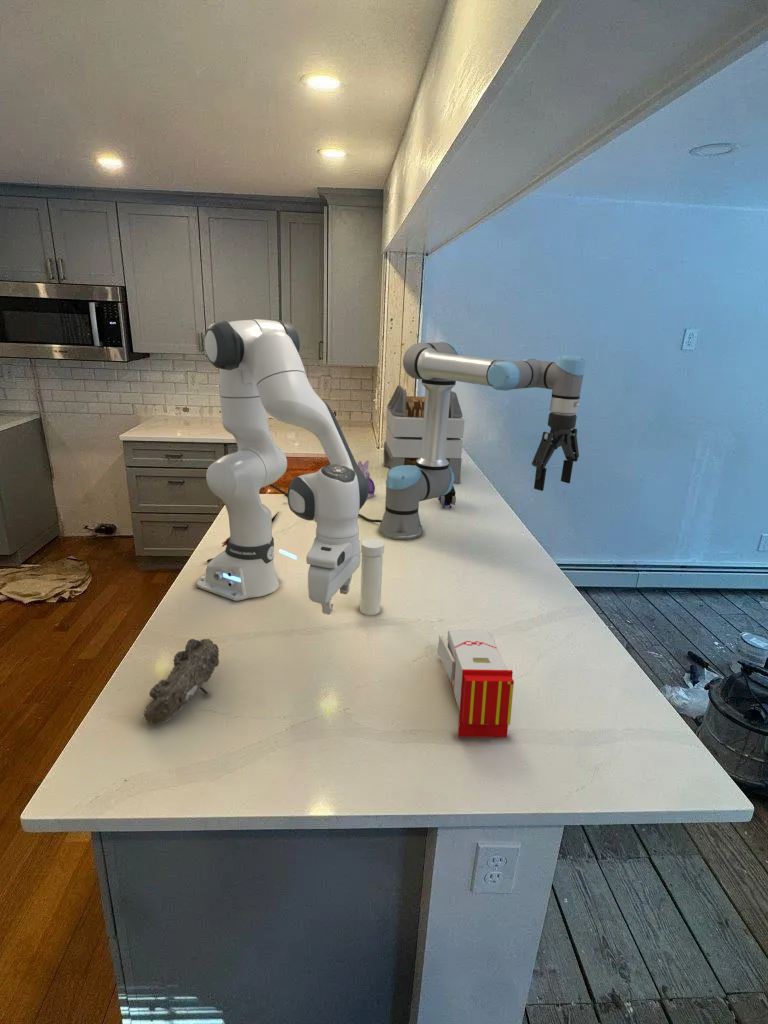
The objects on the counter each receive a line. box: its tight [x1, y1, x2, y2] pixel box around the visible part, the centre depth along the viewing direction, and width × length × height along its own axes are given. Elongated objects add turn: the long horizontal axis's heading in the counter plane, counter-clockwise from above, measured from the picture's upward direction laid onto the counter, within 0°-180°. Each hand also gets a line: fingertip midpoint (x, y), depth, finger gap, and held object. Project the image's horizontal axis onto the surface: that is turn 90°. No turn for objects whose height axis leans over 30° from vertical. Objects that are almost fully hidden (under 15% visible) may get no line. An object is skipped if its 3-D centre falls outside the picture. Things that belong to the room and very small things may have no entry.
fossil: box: [144, 638, 220, 724], centre depth 113 cm, size 22×10×15 cm
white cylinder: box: [360, 538, 385, 557], centre depth 143 cm, size 6×6×2 cm
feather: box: [272, 512, 279, 524], centre depth 212 cm, size 2×28×2 cm
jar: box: [359, 553, 384, 616], centre depth 146 cm, size 5×5×19 cm
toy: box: [437, 628, 515, 738], centre depth 117 cm, size 12×13×30 cm
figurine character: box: [437, 485, 457, 509], centre depth 231 cm, size 7×8×15 cm
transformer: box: [383, 384, 465, 484], centre depth 268 cm, size 34×33×41 cm
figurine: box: [357, 460, 376, 499], centre depth 236 cm, size 9×10×15 cm
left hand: (336, 602), depth 123 cm, fingers open, 8 cm apart
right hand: (552, 485), depth 166 cm, fingers open, 13 cm apart
